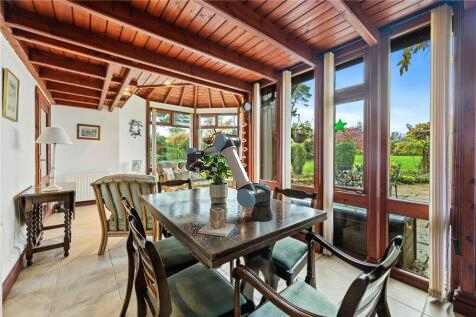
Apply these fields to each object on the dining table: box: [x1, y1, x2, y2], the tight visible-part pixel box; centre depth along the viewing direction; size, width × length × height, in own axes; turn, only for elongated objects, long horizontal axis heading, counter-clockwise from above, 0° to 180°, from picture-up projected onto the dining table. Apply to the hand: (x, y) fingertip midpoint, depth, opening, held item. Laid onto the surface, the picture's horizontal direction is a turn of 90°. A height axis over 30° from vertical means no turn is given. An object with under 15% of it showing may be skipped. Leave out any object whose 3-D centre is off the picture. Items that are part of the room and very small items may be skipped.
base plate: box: [198, 220, 236, 238], centre depth 123 cm, size 16×16×5 cm
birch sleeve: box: [210, 207, 226, 230], centre depth 123 cm, size 6×6×10 cm
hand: (207, 169), depth 150 cm, fingers open, 13 cm apart
